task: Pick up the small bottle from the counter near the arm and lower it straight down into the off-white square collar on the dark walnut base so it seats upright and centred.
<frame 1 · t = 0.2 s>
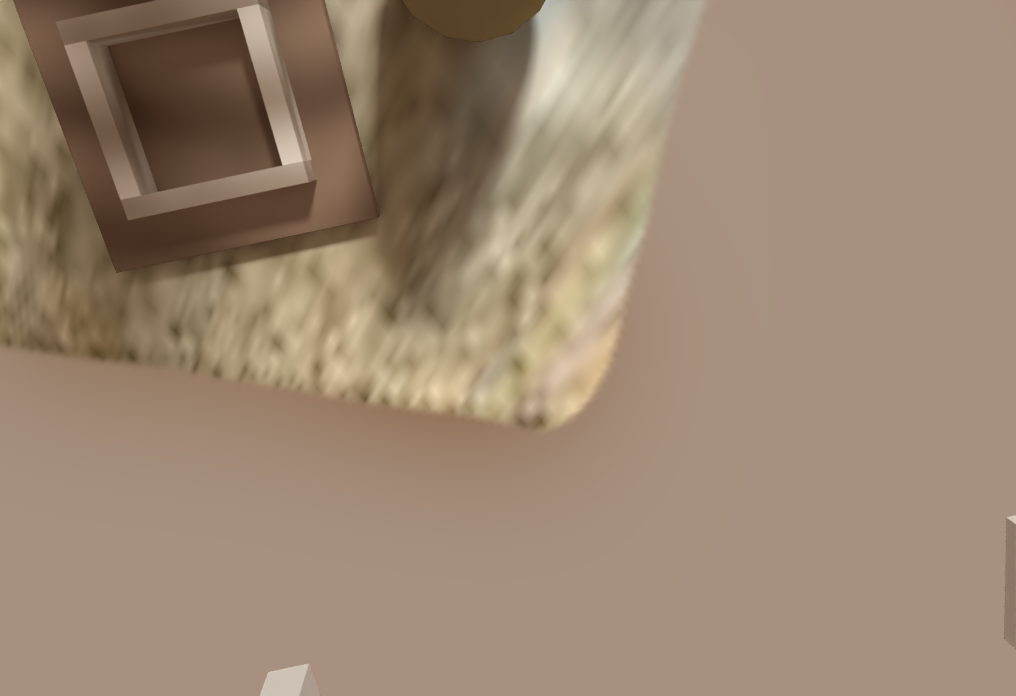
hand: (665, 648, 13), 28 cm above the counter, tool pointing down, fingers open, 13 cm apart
collar holder: (209, 107, 35), on the counter
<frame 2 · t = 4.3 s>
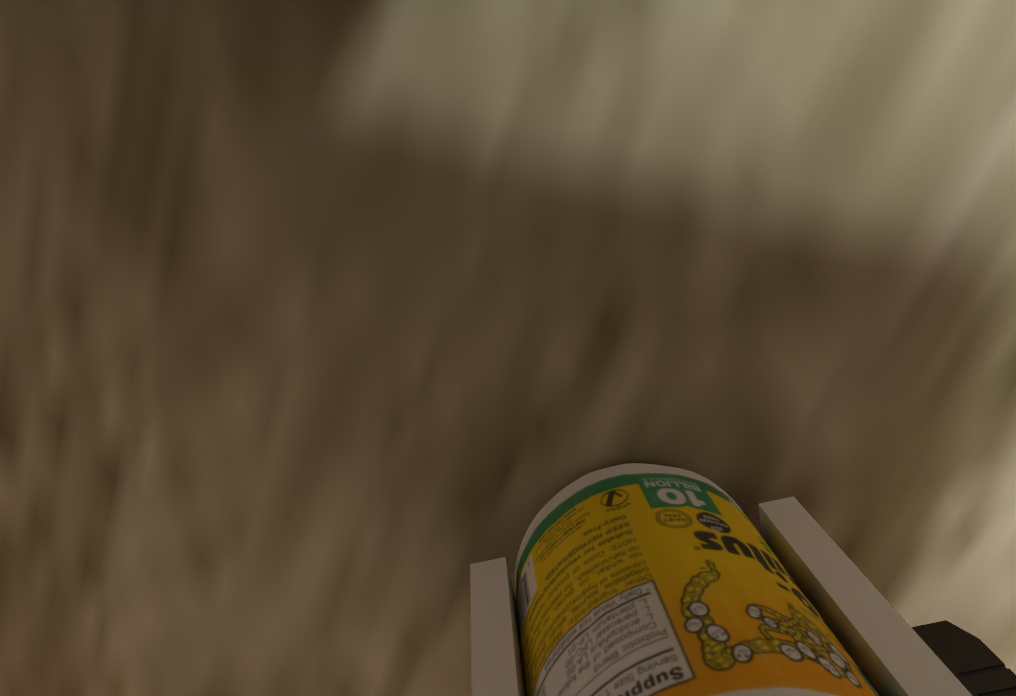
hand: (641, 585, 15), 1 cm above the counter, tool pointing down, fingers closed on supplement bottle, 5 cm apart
supplement bottle: (630, 557, 16), on the counter, touching gripper
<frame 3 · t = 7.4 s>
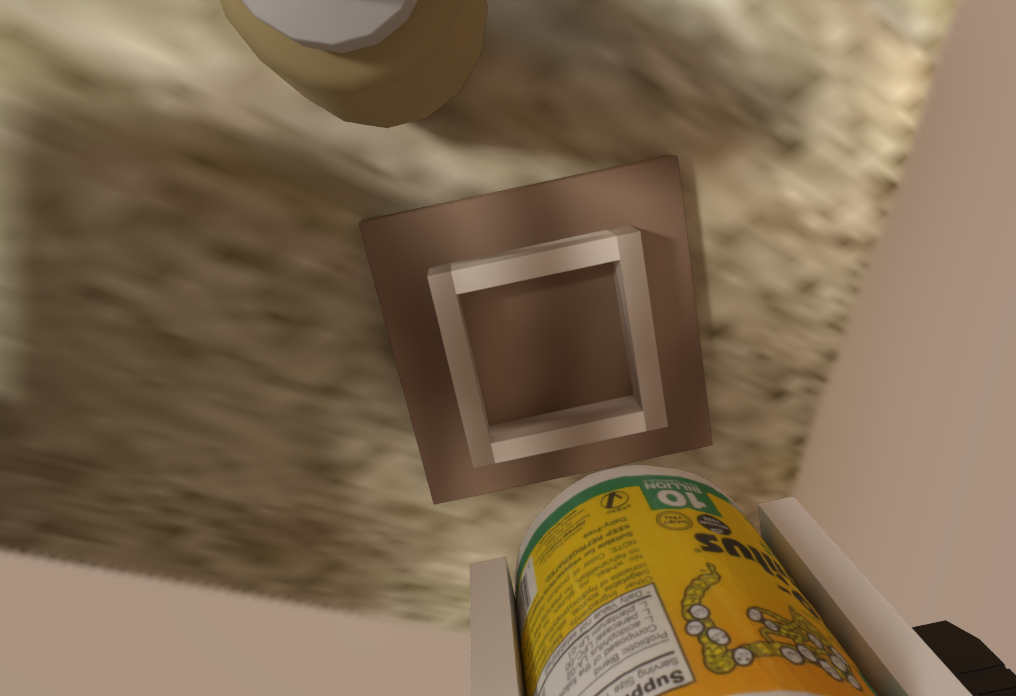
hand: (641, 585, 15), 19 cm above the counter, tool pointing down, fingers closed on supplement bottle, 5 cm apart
squeeze bottle: (386, 25, 29), on the counter
supplement bottle: (631, 558, 16), point 18 cm above the counter, touching gripper
collar holder: (545, 335, 33), on the counter
when the fingers open (4 cm above the counter, at t = 10.4 s): supplement bottle drops 2 cm, resting on collar holder.
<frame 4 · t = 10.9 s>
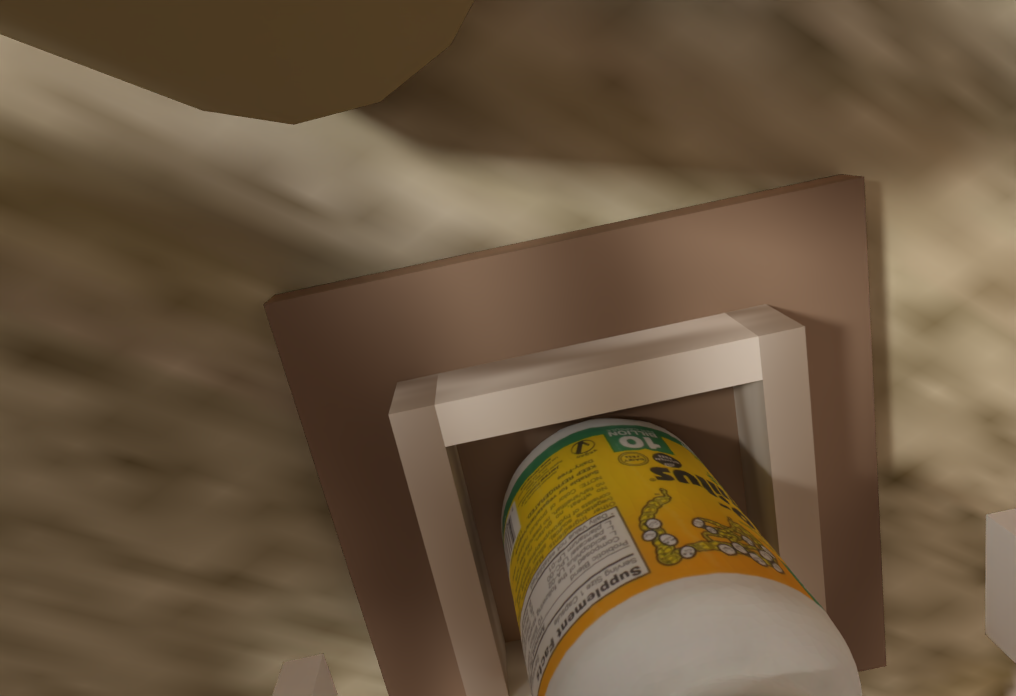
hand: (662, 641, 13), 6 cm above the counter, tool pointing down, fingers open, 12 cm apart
supplement bottle: (601, 502, 18), point 1 cm above the counter, touching collar holder
collar holder: (603, 487, 19), on the counter
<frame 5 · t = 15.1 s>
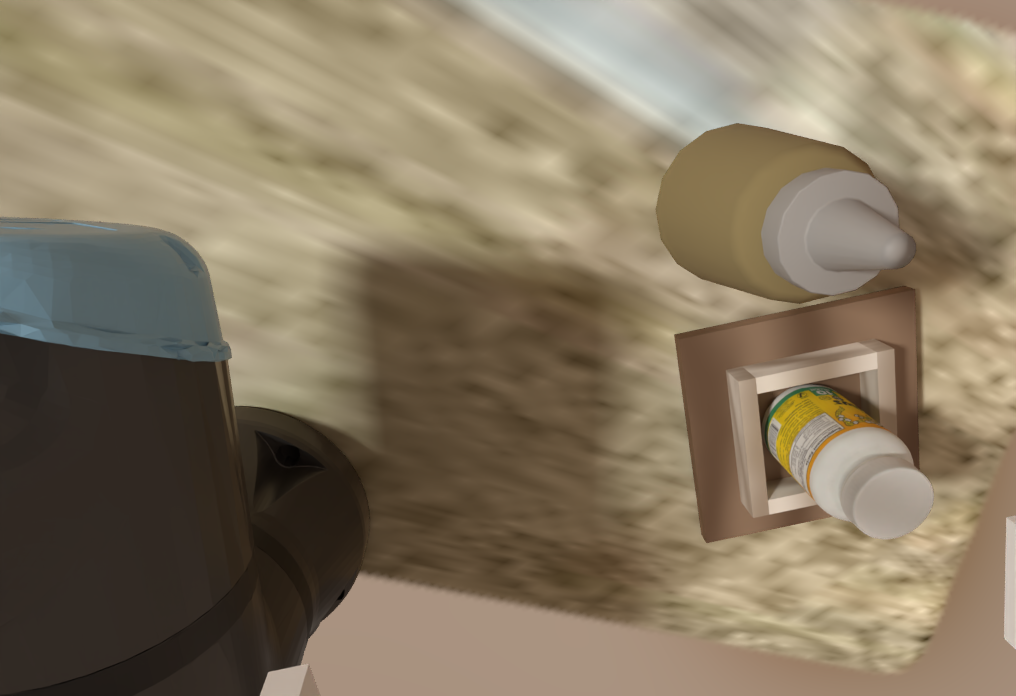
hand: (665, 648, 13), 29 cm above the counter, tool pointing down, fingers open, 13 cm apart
squeeze bottle: (708, 198, 39), on the counter
supplement bottle: (801, 420, 43), point 1 cm above the counter, touching collar holder
collar holder: (798, 416, 44), on the counter
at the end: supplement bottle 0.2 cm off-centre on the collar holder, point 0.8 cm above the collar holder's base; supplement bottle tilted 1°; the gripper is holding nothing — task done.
